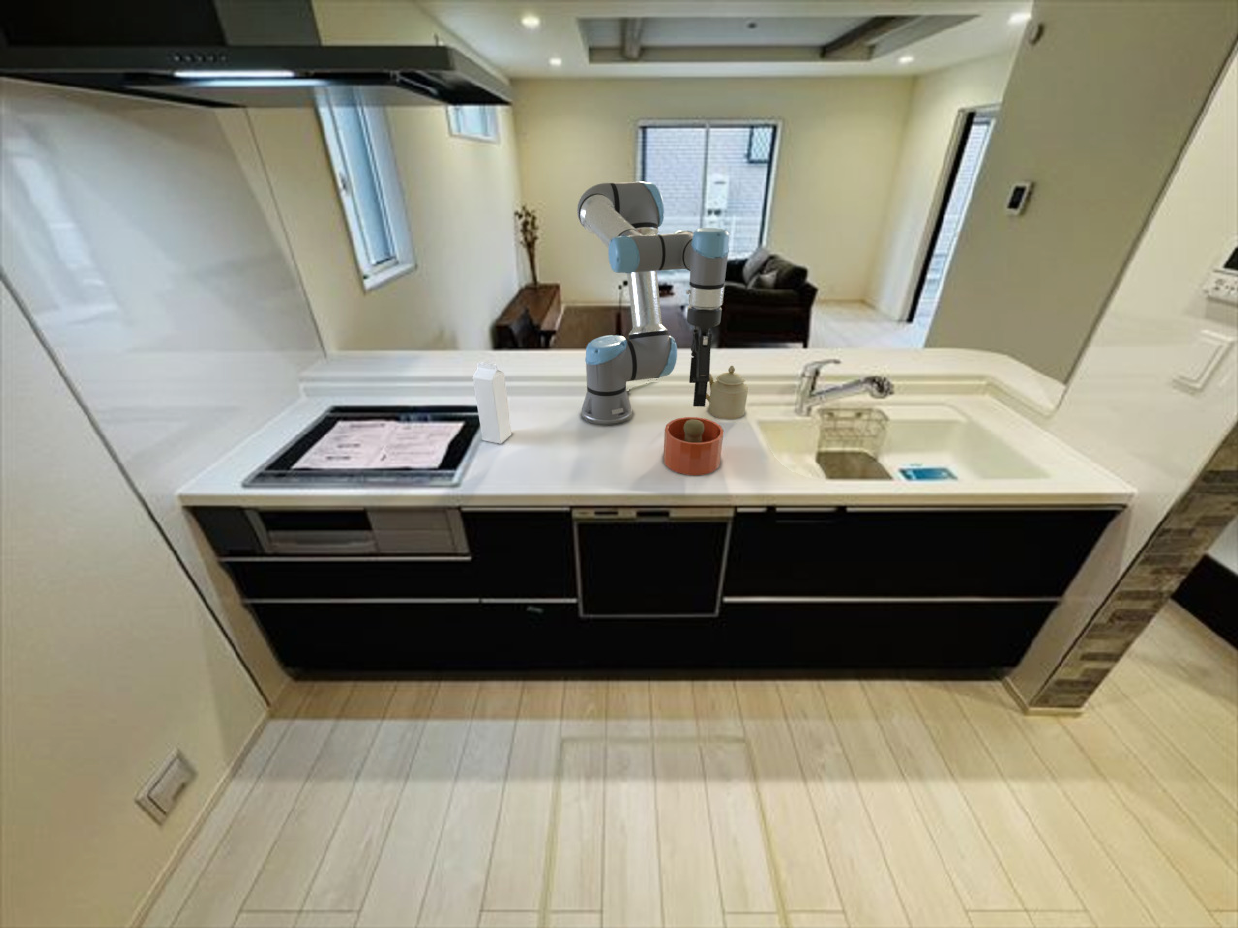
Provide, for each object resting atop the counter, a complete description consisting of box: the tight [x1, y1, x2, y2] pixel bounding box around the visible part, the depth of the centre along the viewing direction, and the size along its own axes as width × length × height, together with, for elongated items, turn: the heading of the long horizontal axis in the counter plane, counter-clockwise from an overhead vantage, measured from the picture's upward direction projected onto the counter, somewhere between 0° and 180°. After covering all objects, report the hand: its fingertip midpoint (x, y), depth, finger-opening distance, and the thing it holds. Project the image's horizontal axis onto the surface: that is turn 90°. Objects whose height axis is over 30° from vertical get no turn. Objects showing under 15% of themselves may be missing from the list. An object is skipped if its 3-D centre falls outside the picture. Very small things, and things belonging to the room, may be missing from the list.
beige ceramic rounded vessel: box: [701, 365, 749, 420], centre depth 156 cm, size 15×11×15 cm
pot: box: [662, 416, 724, 476], centre depth 133 cm, size 15×15×9 cm
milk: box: [472, 361, 512, 445], centre depth 140 cm, size 6×6×22 cm
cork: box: [684, 419, 704, 443], centre depth 132 cm, size 6×6×11 cm
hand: (696, 393), depth 126 cm, fingers open, 13 cm apart
